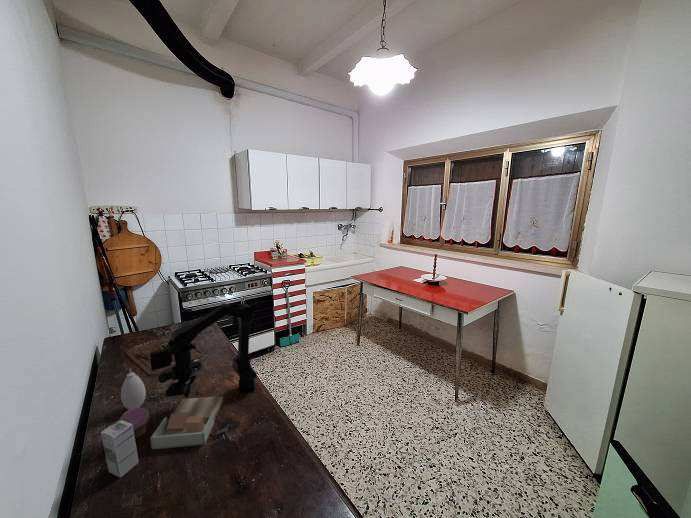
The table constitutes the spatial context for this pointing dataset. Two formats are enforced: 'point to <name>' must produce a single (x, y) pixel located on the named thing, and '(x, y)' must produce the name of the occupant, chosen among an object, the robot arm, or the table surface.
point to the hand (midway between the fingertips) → (187, 396)
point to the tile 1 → (177, 421)
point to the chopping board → (142, 352)
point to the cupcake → (137, 420)
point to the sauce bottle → (133, 391)
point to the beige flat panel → (200, 407)
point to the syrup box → (120, 448)
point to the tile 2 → (194, 424)
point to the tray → (179, 436)
